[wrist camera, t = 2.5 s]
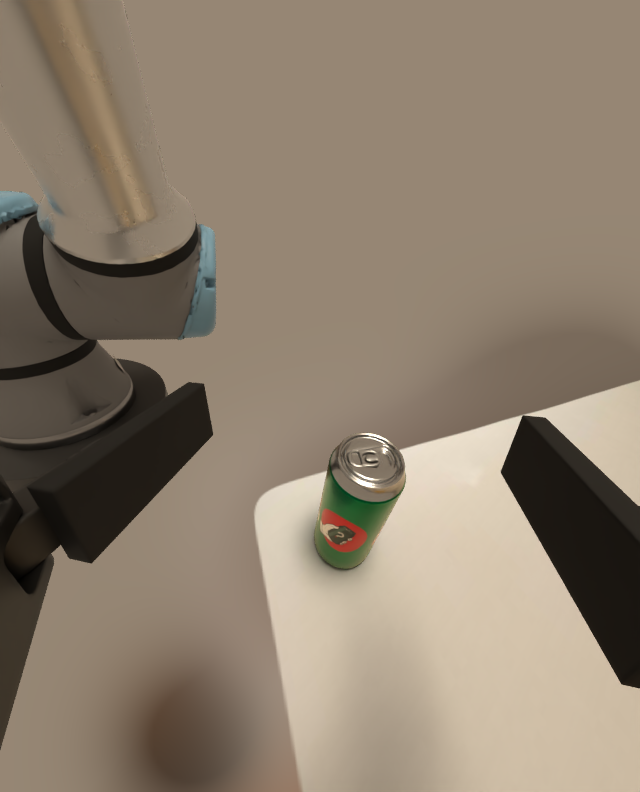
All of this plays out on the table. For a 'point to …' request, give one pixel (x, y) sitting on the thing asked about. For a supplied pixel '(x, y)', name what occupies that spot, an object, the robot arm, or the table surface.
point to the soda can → (357, 498)
